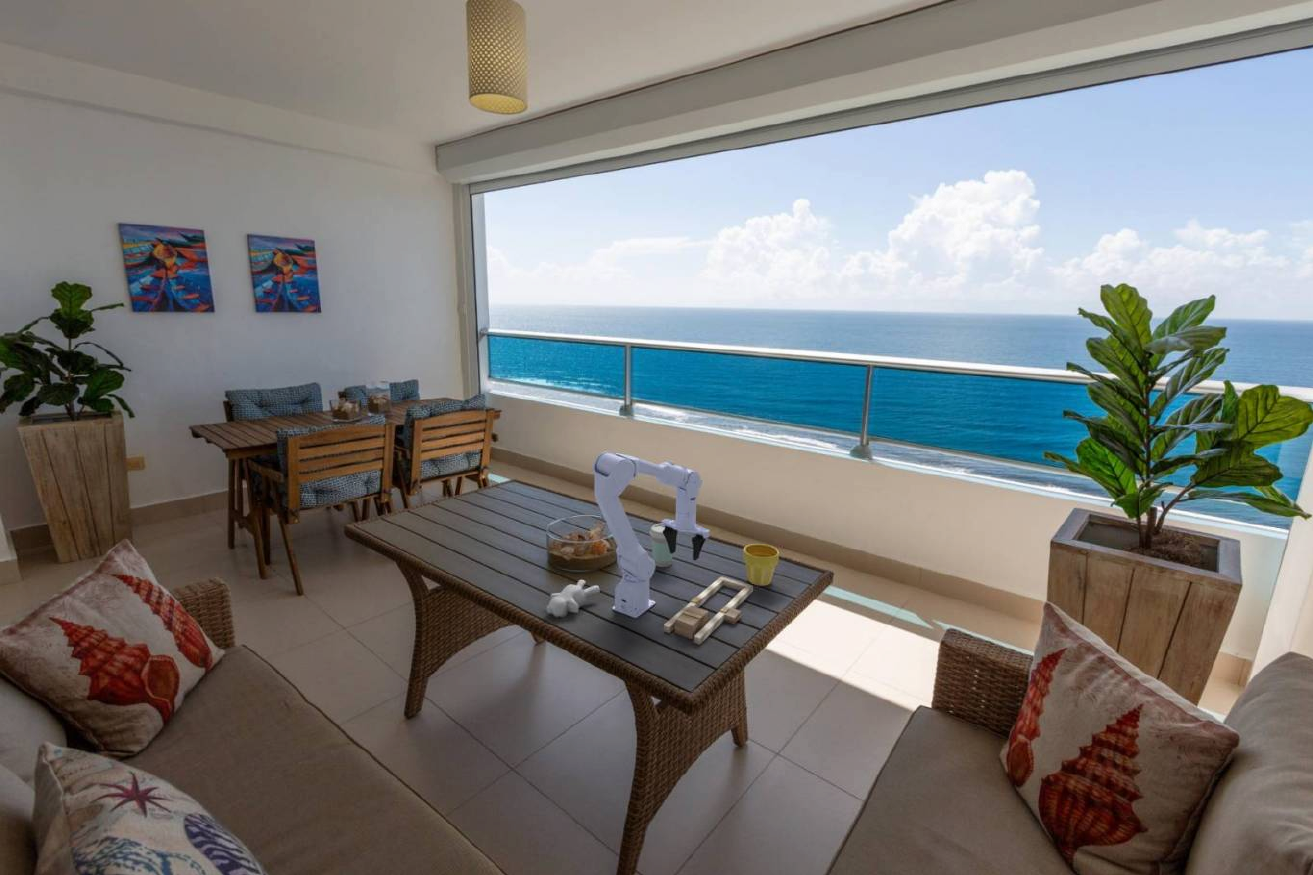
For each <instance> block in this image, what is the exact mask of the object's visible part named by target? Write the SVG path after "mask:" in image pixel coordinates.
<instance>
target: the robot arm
mask: <svg viewBox="0 0 1313 875" xmlns="http://www.w3.org/2000/svg"><path fill="white" fill-rule="evenodd" d="M591 471H592V473H593V475H594V489H593V490H594V491H593V492H594V498H595V500H596V503H597V505H598V507H599V510H600V511H601V513H602V516H603V518H604V520H605V522H606V524H607V526H608V528H609V530H610V534H611V535H612V538H613V539H614V541H615V543H616V546H617V548H616V549H615V553H616V555H617V558H616V559H617V560H616V561H617V565H618V566H619V568H621V573H622V577H621V580H620V582H619V583H617V585H616V586H615V589H614V606H612V607H611V608H612V610H613V611H616V612H617V613H621V614H624V615H626V616H629V617H630V618H631V617H632V618H634V619H638V617H640V616H642V614H643V613H645V612H646V611H648V610H649V609H650V608H651V607H653V606H654V605H655V604H656V601H654V600H653V599H650V579H651V578H652V577H653V575H654V573H655V571H656V566H655V561H654V560H653V557H650V556H649V554H648V552H647V550H645V548H644V547H643V546H642V545H641V544H640V543H639V541H638V538H637V537H636V534H635V531H634V529H633V527H632V525H631V523H630V521H629V518H628V516H627V514H626V511H625V509H624V507H623V504H622V502H621V501H620V498H619V496H621V495H622V493H623V492H624V490H626V488H627V487H628V485H629V484H630V482H631V481H632V480H633V478H637V476H638V475H639V474H643V475H647V476H652V477H655V479H656V481H657V482H658V483H659V484H663V485H667V486H671V487H675V488H676V492H675V494H676V495H675V499H676V500H675V520H673V519H669V518H665V519H662V520H661V524H662V527H663V528H665V530H663V535H664V536H665V538H666V540H667V543H668V546H669V551H670V553H671V554H672V553H673V554H674V553H675V552H676V549H677V538H678V537H677V536H678V533H679V532H680V533H681V532H682V533H687V534H690V535H695V536H693V537H692V538H691V543H692V551H693V552H692V560H693V561H697V560H699V558H700V554H701V551H702V549H703V546H704V544H705V543H706V541H707V539H708V538H709V537H710V531H711V530H710V529H707V528H705V527H702V526H700V525H698V524H696V521H697V520H696V518H697V500H698V496H699V491H700V488H701V487H702V485H703V480H702V478H701V476H700V474H699V473H698V472H697V471H695V470H691V469H689V468H687V466H685V465H681V466H679V465H676V464H675V462H673V461H671V460H668V461H667V462H666V461H665V462H664V461H663V462H661V463H660V464H656V463H653V462H650V461H648V460H644V459H642V458H638V457H637V456H633V455H628V454H623V453H620V452H618V453H617V452H615V453H613V452H611V451H607V450H606V451H603V452H601V453H599V454H598V455H597V457H596V458H595V460H594V463H593V465H592V468H591Z"/></svg>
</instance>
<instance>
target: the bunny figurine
mask: <svg viewBox="0 0 1313 875" xmlns="http://www.w3.org/2000/svg"><path fill="white" fill-rule="evenodd" d="M584 585H586V580H584V579H579V580H577V583H576V584H571V583H570V584H568V585H566V586H565V587H564V588H563V590H562V591H561V592H557V593H556V592H555V593H551V594H550V600H549V602H548V605H547V606H546V607H545V608H546V613H547V614H550V615H553V617H556V618H558V617H561V618H563V617H566V616H568V615H567V614H568V613H579V608H581V607H582V606H584V605H585V602H586V600H587V597H588V596H591V595H595V594H598V593H600V591H601V589H600V587H599V585H597V584H596V585H593V586H590V587H587V588H585V589H583V587H584Z"/></svg>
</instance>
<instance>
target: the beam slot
mask: <svg viewBox="0 0 1313 875" xmlns="http://www.w3.org/2000/svg"><path fill="white" fill-rule="evenodd" d="M722 587H727V588H731V589H734V590H736V591H739V592H738V593H737V594H736V595H735V596H734V597H733V598H731V600H730V601H729V602H728V603H726V605H724V606H723V607H722V608H720V610H719V611H718V612H717V613H716V614H714V616H713V617H712V618H711V619H710V620H708V623H707V624H706V625H705V626H704V627H703V628H702V629H701V630H700V631H699V632H698V633H697V634H696V635H695V636H694V638H693V643H694V644H696V645H701V644H702V643H703V642H704V641H705V640H706V639H707V638H708V637H709V636H711V634H712V633H713V632H714V631H715V630H716V629H717V628H718V627H719V626H720V625H721V624H722V623H723V622H727V623H730V624H733V625H735V624H736V623H737V622H738V621H739V620H741V618H742V610H738V609H737V608H738V607H740V605H741V604H742V603H744V601H745V600H746V599H747V598H748V597H749V596H750V595H752V593H753V592H754V586H753V584H752V585H751V584H748V583H745V582H742V581H739V580H735V579H732V578H729V577H725V576H720V577H718V578H717V579H716V580H715V581H714V582H713V583H712V584H710V585H709V586H707V588H705V589H704V590H703V591H702V592H701V593H700V594H698V595H697V596H695V597H694V598H692V600H691V601H690V602H689V603H688V604H687V605H685V606H684V607H683V608H682V609H680V611H678V612H677V613H676V614H675V615H673V617H671V618H670V619H669V620H668V621H667V622H666V623H664V624H663V632H665V633H667V634H670V633H672V632H673V630H674V631H675V619H676V618H677V617H678V616H679V615H681V614H682V612H683V611H685V610H687V609H688V608H689V607H690V606H694V607H697V608H700V606H701V607H702V605H703V604H704V603H705V602H707V601H708V600H709V599H710V598H711V597H712V596H714V595H715V593H717V592H718V591H719V590H720V589H721V588H722Z"/></svg>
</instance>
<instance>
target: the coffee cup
mask: <svg viewBox="0 0 1313 875" xmlns="http://www.w3.org/2000/svg"><path fill="white" fill-rule="evenodd" d="M650 528H651V529H650V530H649V535H650V542H651V543H650V544H651V553H652V559H653V560H654V561H655V567H658V568H668V567H670V566H671V565H672V563H673V557H674V553H672V554H671V553H670V551H669V546H668V543H667V540H666V538H665V536H664V535H663V530H665V528H663V527H662V523H656V524H654V525H652V526H651V527H650Z"/></svg>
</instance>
